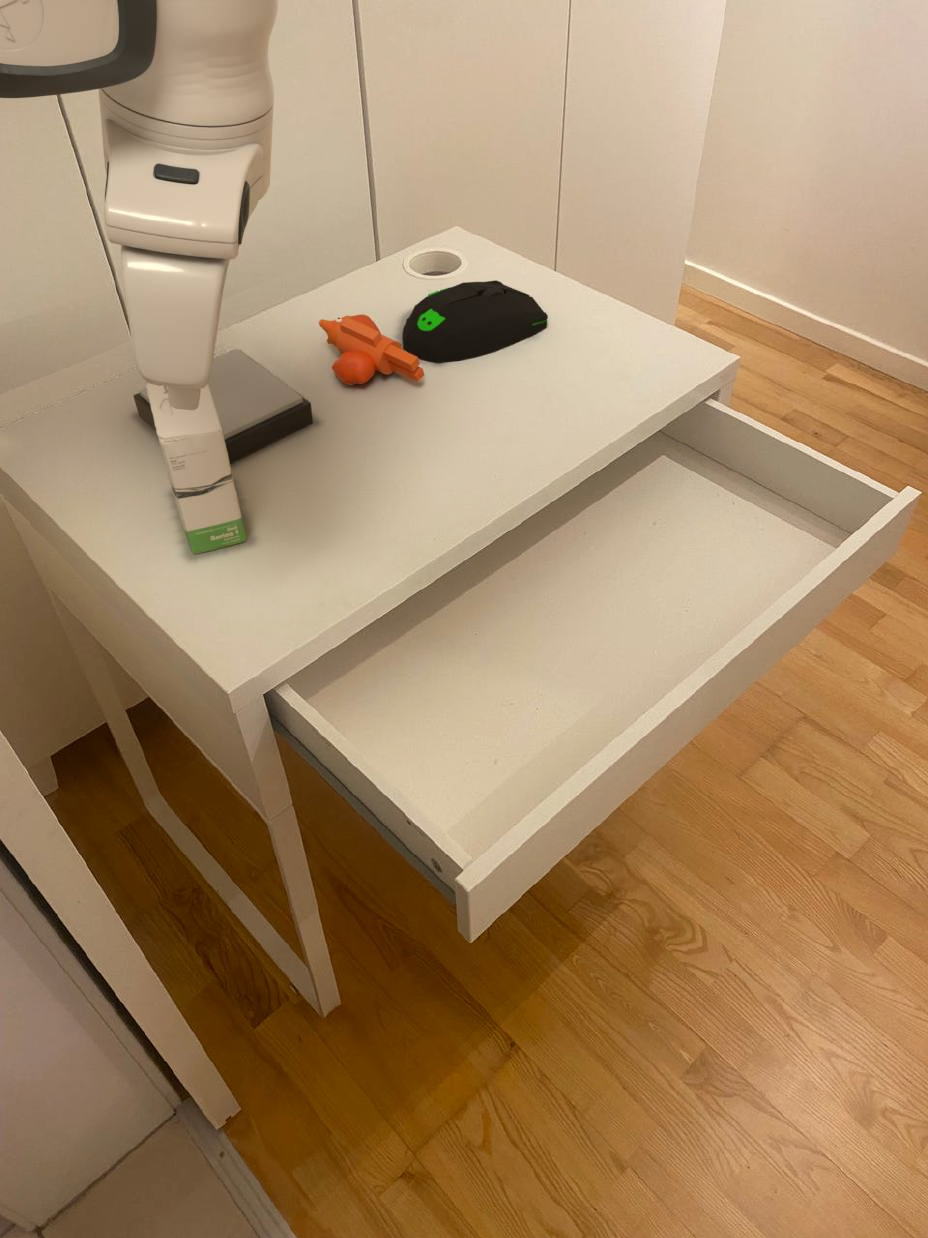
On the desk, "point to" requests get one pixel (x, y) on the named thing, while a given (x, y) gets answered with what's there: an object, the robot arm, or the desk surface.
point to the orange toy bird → (367, 351)
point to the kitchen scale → (247, 405)
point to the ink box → (198, 470)
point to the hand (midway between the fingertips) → (192, 356)
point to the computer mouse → (471, 321)
